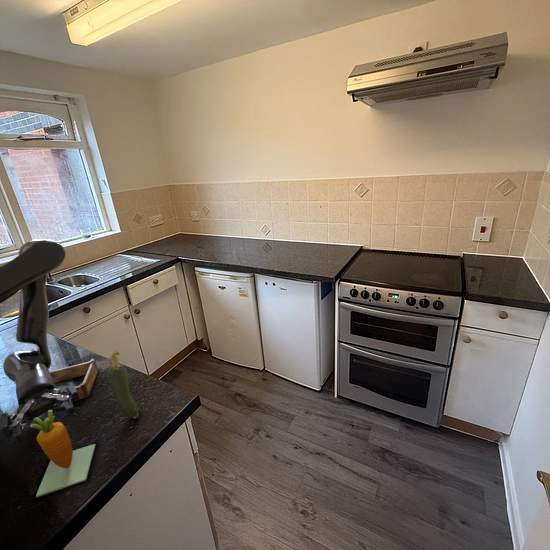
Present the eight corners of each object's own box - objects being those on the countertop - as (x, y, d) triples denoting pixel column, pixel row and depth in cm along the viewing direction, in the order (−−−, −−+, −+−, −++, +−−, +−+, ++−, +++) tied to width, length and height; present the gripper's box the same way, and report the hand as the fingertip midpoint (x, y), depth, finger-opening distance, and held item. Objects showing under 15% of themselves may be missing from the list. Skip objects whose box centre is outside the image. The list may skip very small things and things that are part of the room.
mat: (36, 497, 60) (35, 496, 60) (52, 458, 68) (51, 457, 68) (86, 480, 62) (85, 479, 62) (95, 444, 70) (95, 443, 70)
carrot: (54, 483, 62) (25, 430, 57) (55, 464, 66) (28, 413, 61) (81, 469, 64) (56, 417, 59) (81, 452, 68) (57, 402, 63)
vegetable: (122, 426, 75) (97, 361, 67) (123, 414, 78) (99, 351, 71) (141, 419, 76) (119, 354, 69) (141, 408, 80) (119, 345, 73)
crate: (33, 412, 82) (27, 399, 81) (50, 382, 94) (45, 371, 92) (89, 396, 86) (84, 384, 84) (98, 369, 97) (94, 358, 96)
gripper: (-8, 394, 69) (-5, 434, 58) (63, 363, 78) (78, 392, 67) (6, 418, 72) (11, 461, 60) (73, 385, 81) (89, 417, 69)
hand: (46, 425), depth 64 cm, fingers open, 8 cm apart
